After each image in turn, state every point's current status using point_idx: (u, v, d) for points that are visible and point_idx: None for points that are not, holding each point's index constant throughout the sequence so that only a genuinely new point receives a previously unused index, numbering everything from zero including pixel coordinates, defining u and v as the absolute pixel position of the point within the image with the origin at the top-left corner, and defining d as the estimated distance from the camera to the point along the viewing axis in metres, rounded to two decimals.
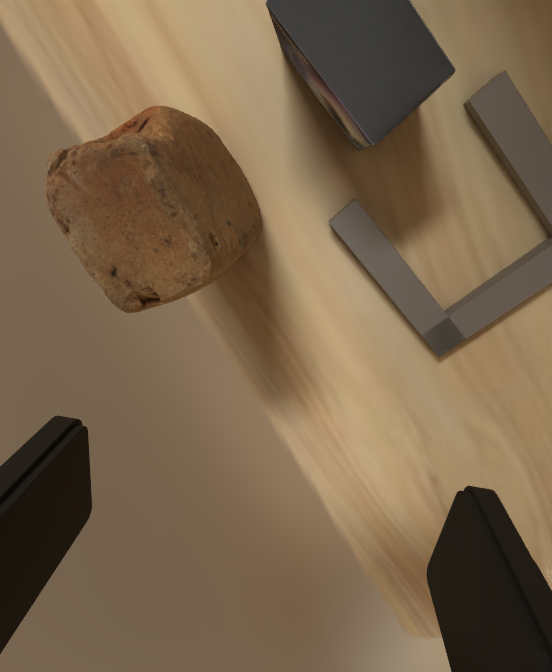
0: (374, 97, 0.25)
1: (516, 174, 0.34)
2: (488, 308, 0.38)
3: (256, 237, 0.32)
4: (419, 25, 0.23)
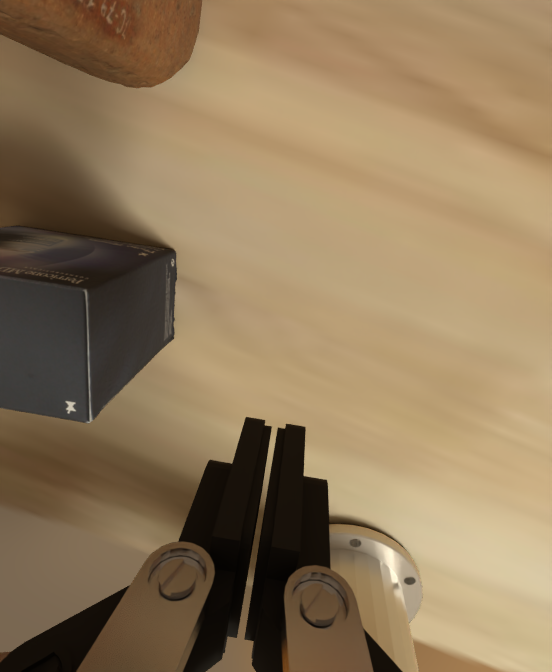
0: None
1: None
2: None
3: None
4: None
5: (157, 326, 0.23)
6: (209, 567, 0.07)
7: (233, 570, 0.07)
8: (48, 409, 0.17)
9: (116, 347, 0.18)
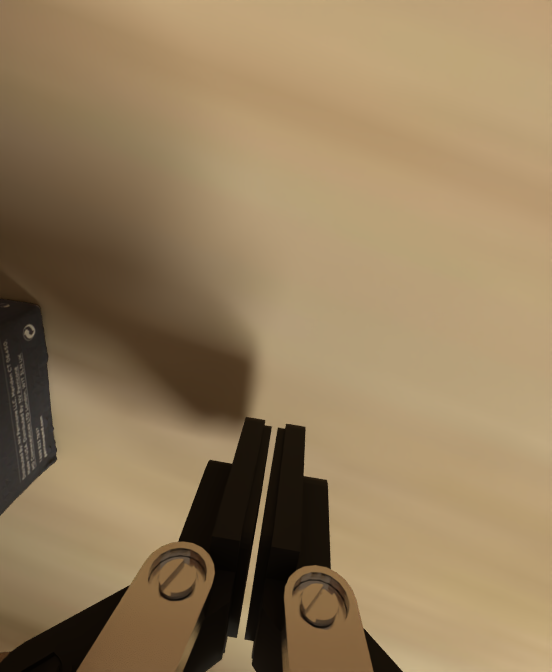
0: None
1: None
2: None
3: None
4: None
5: None
6: (209, 567, 0.07)
7: (233, 570, 0.07)
8: None
9: None
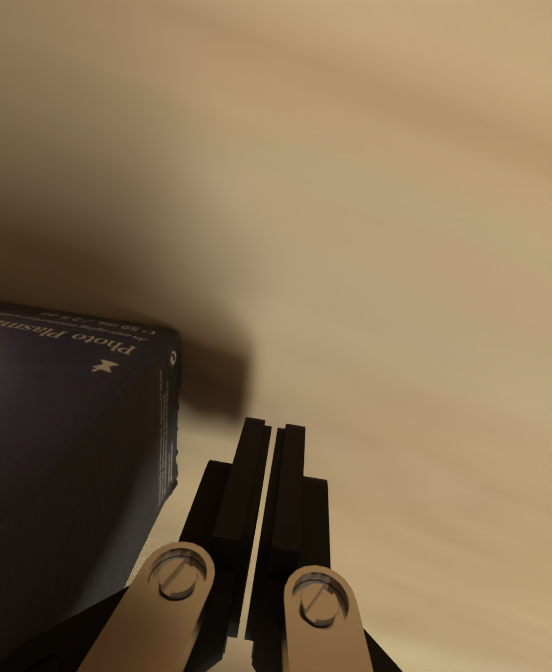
0: None
1: None
2: None
3: None
4: None
5: (143, 502, 0.11)
6: (209, 567, 0.07)
7: (233, 570, 0.07)
8: None
9: None
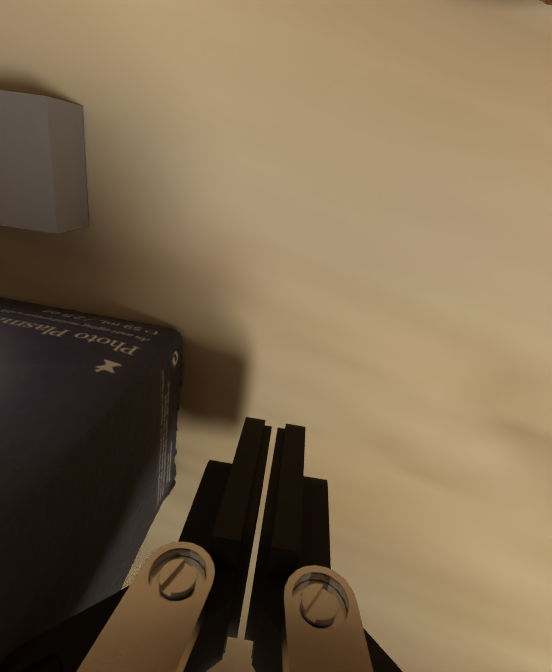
0: None
1: None
2: None
3: None
4: None
5: (142, 502, 0.11)
6: (209, 567, 0.07)
7: (233, 570, 0.07)
8: None
9: None
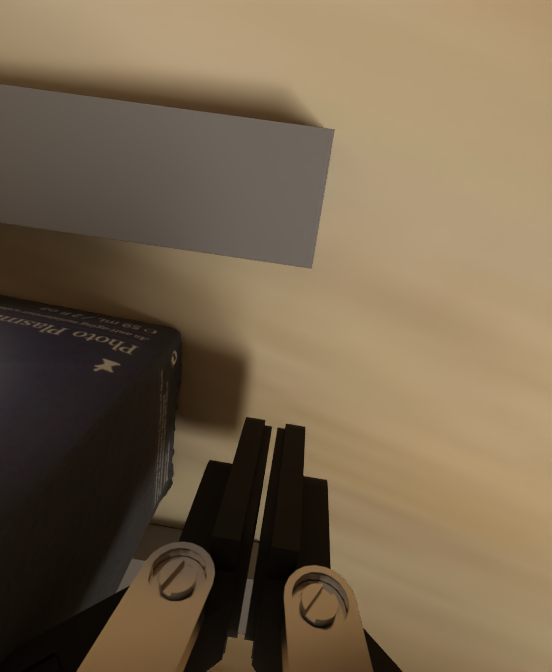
0: None
1: None
2: None
3: None
4: None
5: (139, 503, 0.11)
6: (209, 567, 0.07)
7: (233, 570, 0.07)
8: None
9: None
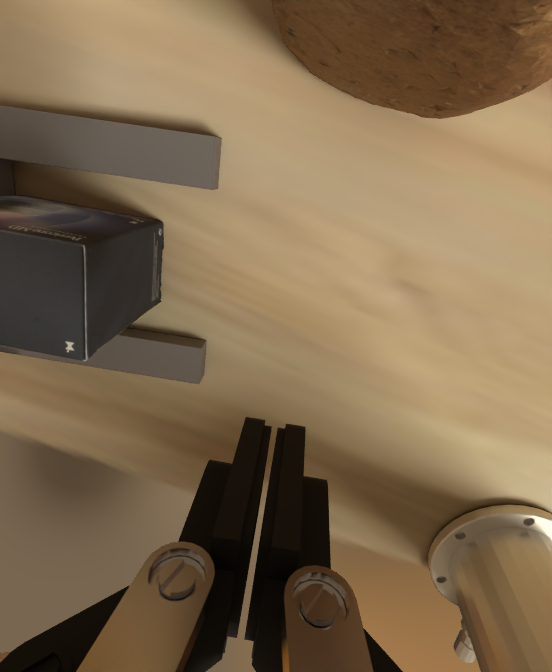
0: None
1: None
2: None
3: None
4: None
5: (145, 287, 0.26)
6: (209, 567, 0.07)
7: (233, 570, 0.07)
8: (50, 348, 0.20)
9: (109, 299, 0.22)
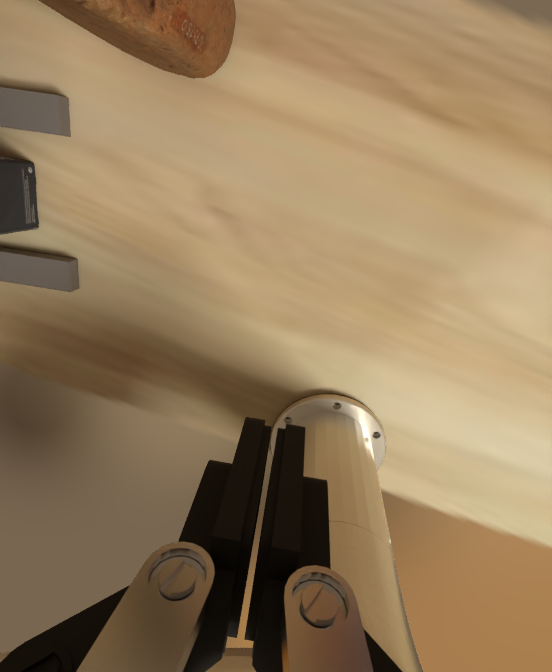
0: None
1: None
2: None
3: None
4: None
5: (16, 209, 0.36)
6: (209, 567, 0.07)
7: (233, 570, 0.07)
8: None
9: None
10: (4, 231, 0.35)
